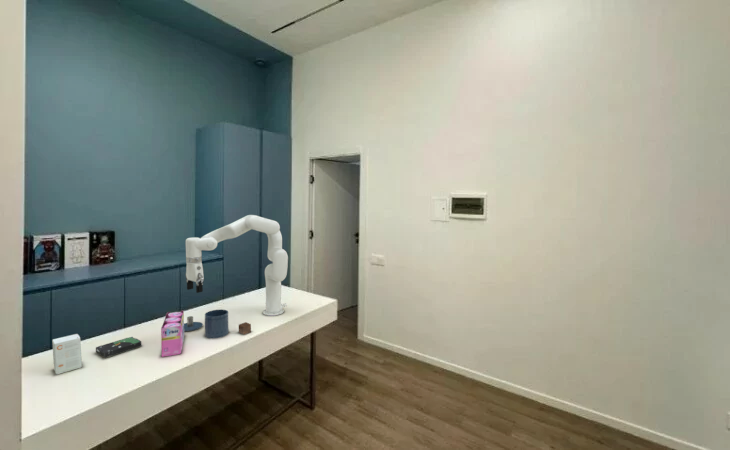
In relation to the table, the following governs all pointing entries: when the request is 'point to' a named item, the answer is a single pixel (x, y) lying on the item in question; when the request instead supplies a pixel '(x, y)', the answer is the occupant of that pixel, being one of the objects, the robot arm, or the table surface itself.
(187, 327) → the lid
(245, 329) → the block
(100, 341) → the table surface
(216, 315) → the canister
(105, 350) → the disk drive
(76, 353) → the small box
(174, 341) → the gum box
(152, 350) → the table surface
